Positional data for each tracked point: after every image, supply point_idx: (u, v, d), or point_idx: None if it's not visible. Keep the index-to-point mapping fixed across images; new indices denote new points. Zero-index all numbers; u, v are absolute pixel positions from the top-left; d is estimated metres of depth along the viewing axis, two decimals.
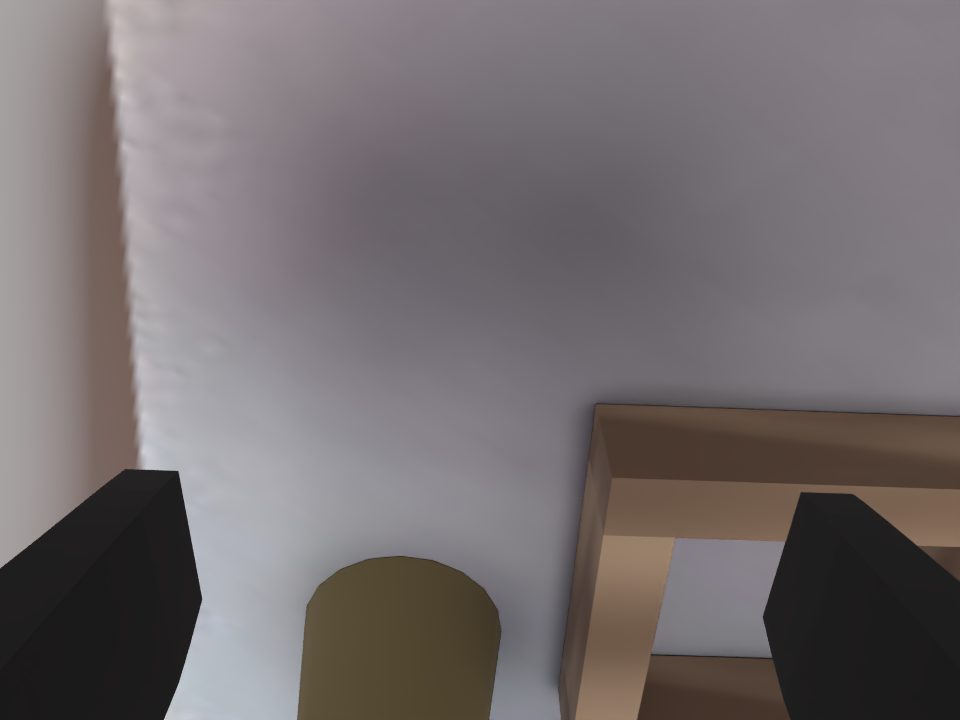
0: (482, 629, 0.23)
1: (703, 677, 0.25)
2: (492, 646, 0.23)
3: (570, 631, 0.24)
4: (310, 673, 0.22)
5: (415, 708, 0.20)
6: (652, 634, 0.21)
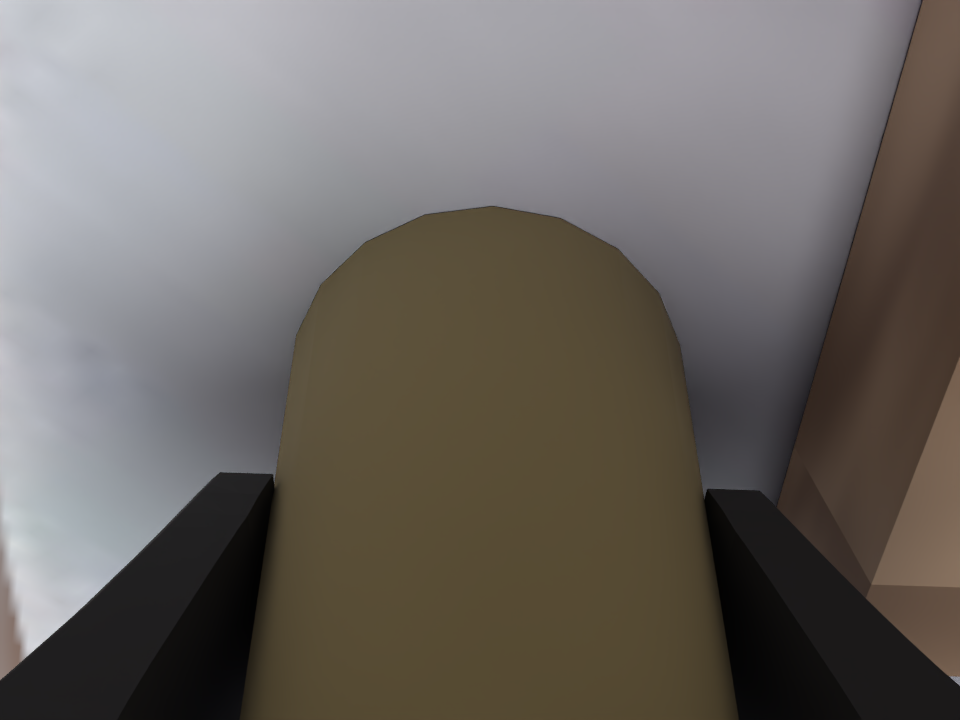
0: (670, 353, 0.11)
1: None
2: (687, 396, 0.11)
3: (838, 376, 0.12)
4: (300, 414, 0.09)
5: (574, 441, 0.08)
6: None
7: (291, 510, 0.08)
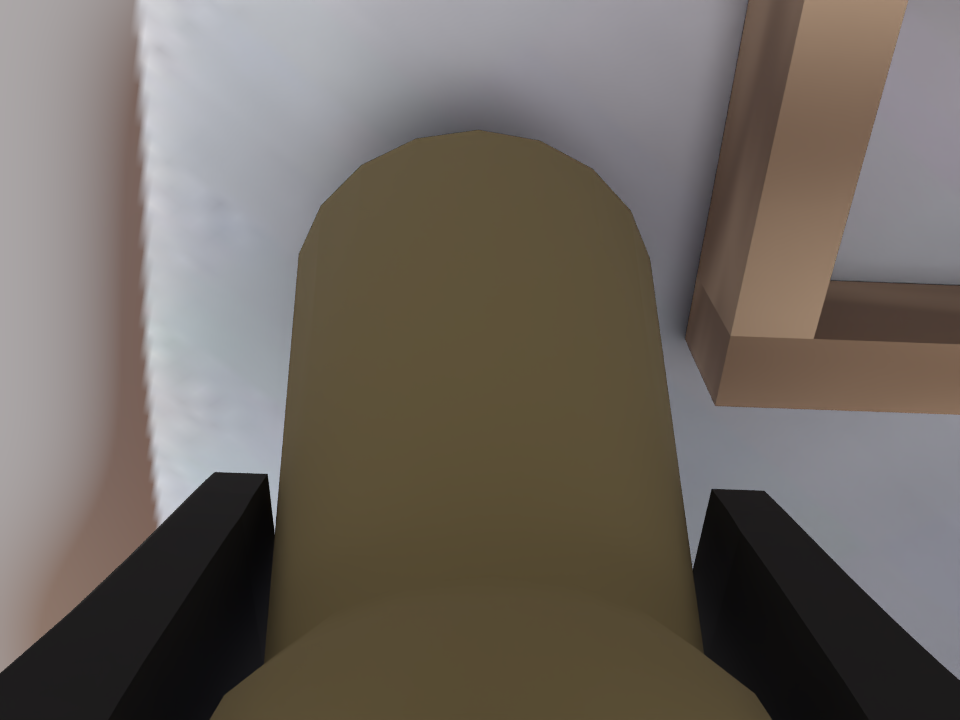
0: (639, 262, 0.12)
1: (889, 296, 0.18)
2: (655, 301, 0.12)
3: (718, 215, 0.18)
4: (310, 315, 0.11)
5: (552, 324, 0.09)
6: (869, 124, 0.14)
7: (307, 391, 0.09)
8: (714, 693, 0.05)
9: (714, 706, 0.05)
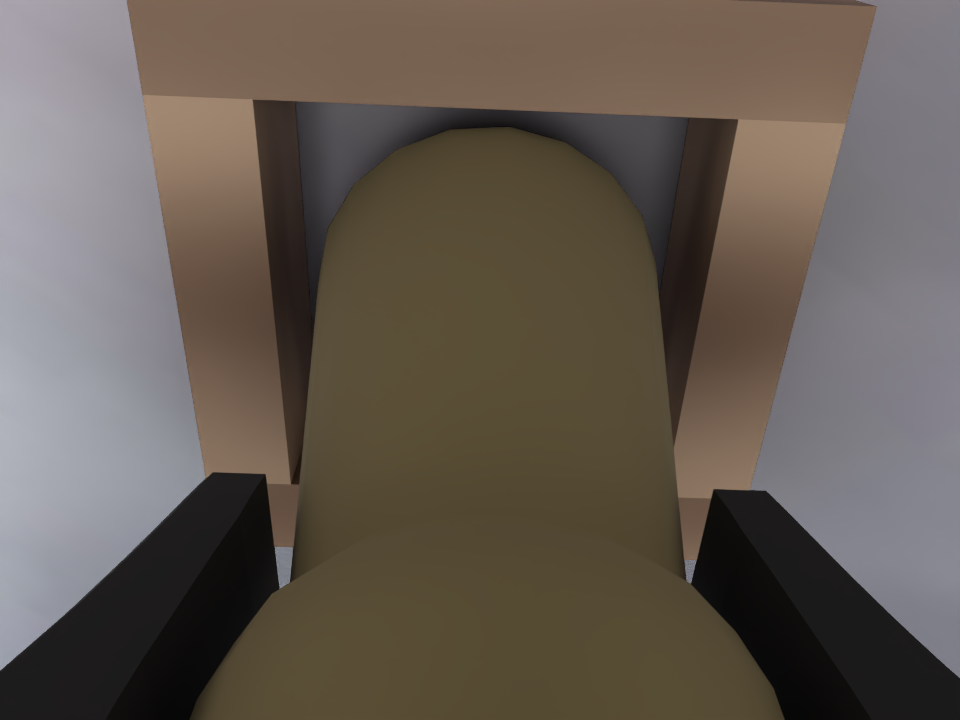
0: (648, 263, 0.13)
1: None
2: (658, 301, 0.13)
3: None
4: (342, 282, 0.11)
5: (571, 306, 0.10)
6: (268, 290, 0.14)
7: (341, 348, 0.10)
8: (705, 617, 0.06)
9: (705, 626, 0.06)
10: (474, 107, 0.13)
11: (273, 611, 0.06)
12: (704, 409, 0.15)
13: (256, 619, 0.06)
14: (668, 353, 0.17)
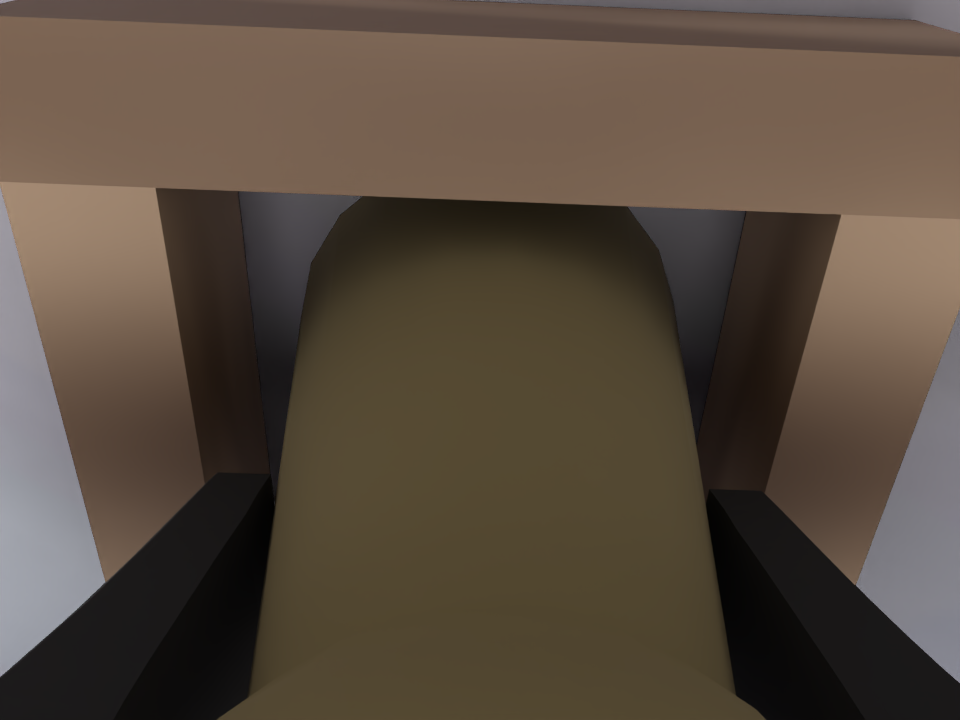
0: (667, 302, 0.11)
1: None
2: (679, 344, 0.12)
3: None
4: (323, 322, 0.10)
5: (588, 350, 0.08)
6: (190, 432, 0.10)
7: (318, 399, 0.09)
8: None
9: None
10: (469, 197, 0.09)
11: None
12: None
13: None
14: (720, 486, 0.13)
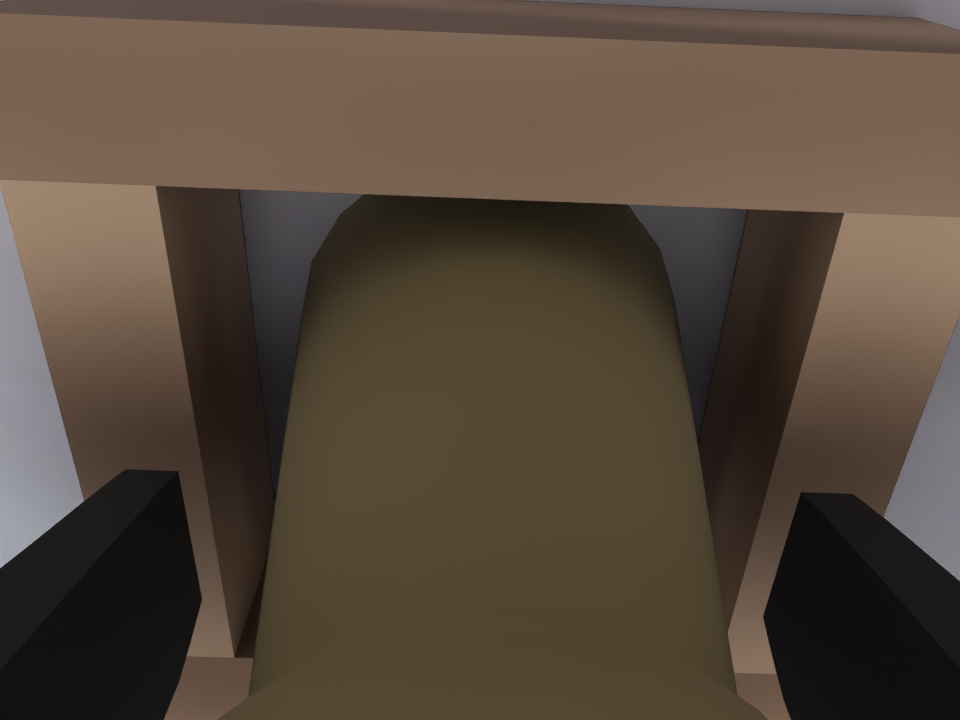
0: (668, 301, 0.11)
1: None
2: (680, 343, 0.12)
3: None
4: (323, 320, 0.10)
5: (589, 349, 0.08)
6: (191, 430, 0.10)
7: (319, 398, 0.09)
8: None
9: None
10: (470, 194, 0.09)
11: None
12: (774, 573, 0.12)
13: None
14: (721, 486, 0.13)
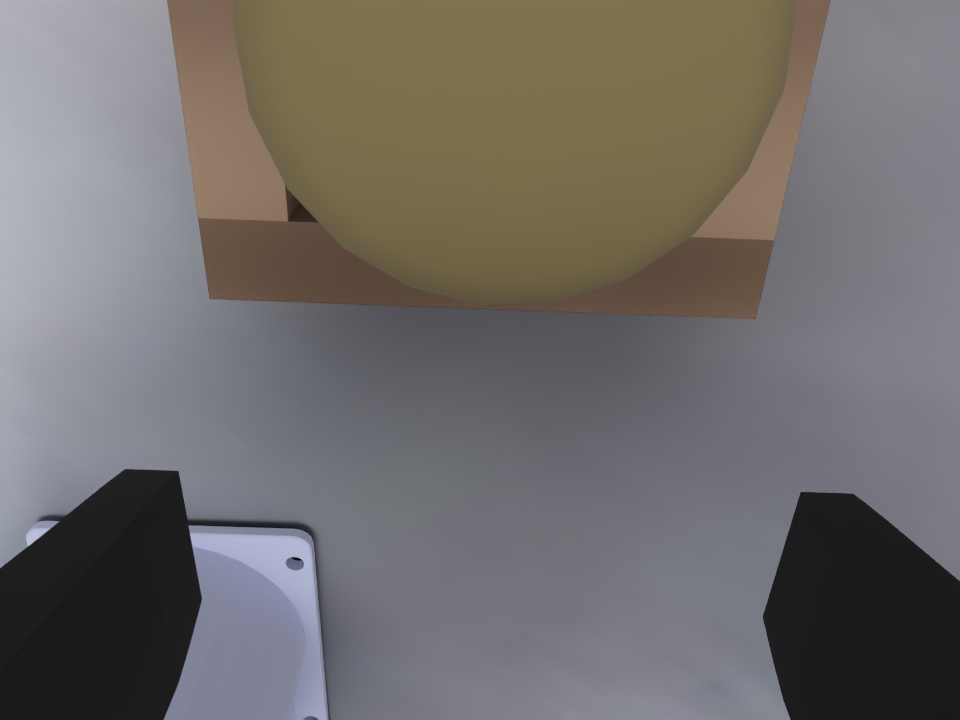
0: None
1: None
2: None
3: None
4: None
5: None
6: None
7: None
8: None
9: None
10: None
11: None
12: None
13: None
14: None
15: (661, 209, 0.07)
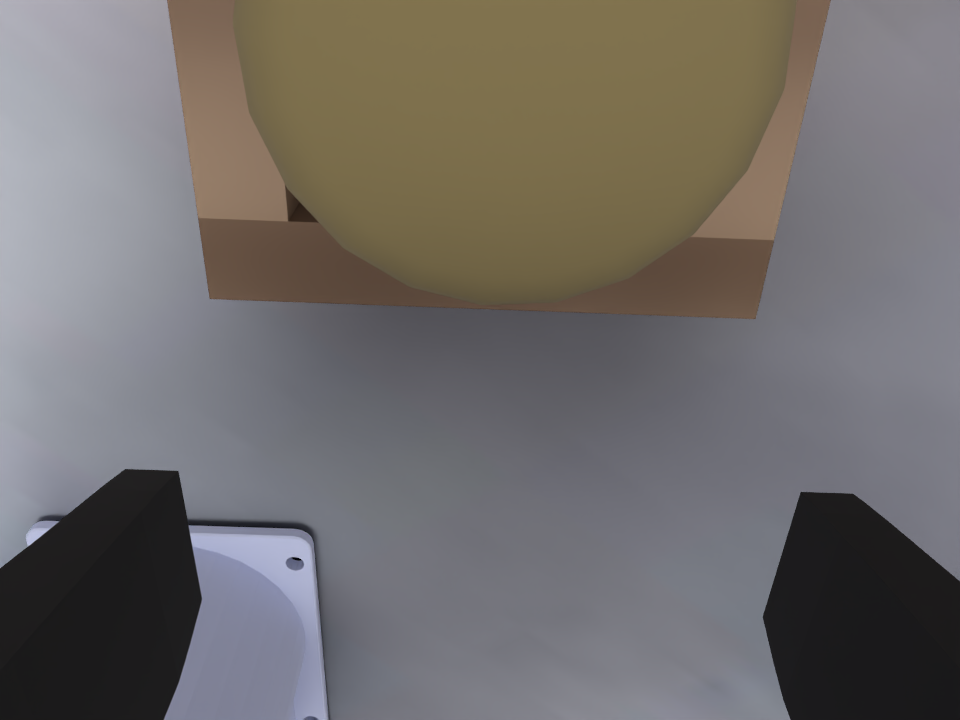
0: None
1: None
2: None
3: None
4: None
5: None
6: None
7: None
8: None
9: None
10: None
11: None
12: None
13: None
14: None
15: (661, 209, 0.07)
